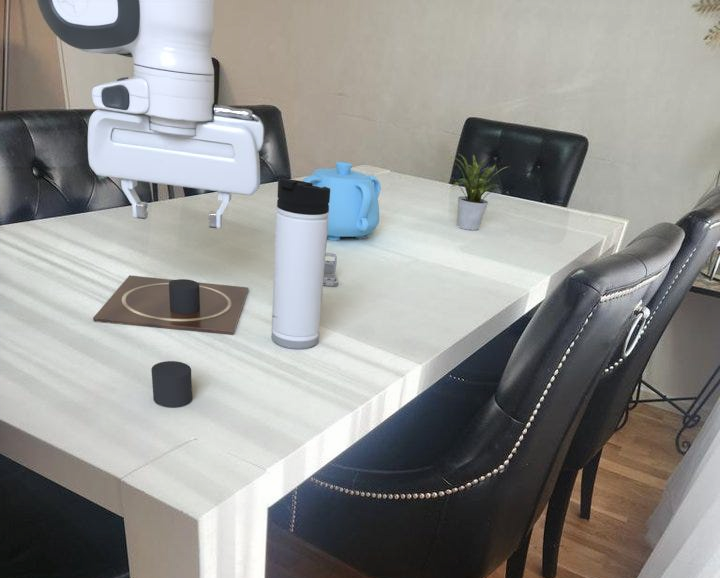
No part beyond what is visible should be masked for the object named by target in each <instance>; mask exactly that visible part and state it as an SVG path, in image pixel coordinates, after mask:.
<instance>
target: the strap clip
mask: <svg viewBox="0 0 720 578" xmlns="http://www.w3.org/2000/svg"><path fill="white" fill-rule="evenodd" d="M325 257H330V258H331V257H332V258H334V260H325V267H324V279H323V286H327V287H330V286H331V287H338V283H339V279H338V277H337V276H336V270H337V264H338V257H337V254H335V253H333V252H326V255H325Z"/></svg>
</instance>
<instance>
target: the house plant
mask: <svg viewBox="0 0 720 578" xmlns="http://www.w3.org/2000/svg"><path fill="white" fill-rule="evenodd" d="M456 154H457V155H459V156H460V157H462V159H463V161H464V163H463V162H462V161H461V160H460V159H459V158H457V157H453V156H451V159H455V160H457V161H458V162H459V163H460V165H461V166H462V168H463V169H464V172H465V174H466V177H467V178H466V177H465V174H464V172H463V170H462V168H461V166H460V165H459V164H457V163H455V162H450V163H451V164H455V165H456V166H457V167H458V168H459V170H460V172H461V174H462V176H463V178H458V179H457V180H458V181H456V182H454V183H453V184H452V185H451V187H455V186H458V187H459V188H460V189H461V191H462V193H463V195H461V196H458V197H457V214H456V215H457V216H456V218H457V219H456V227H457V226H459V227H461V228H464V229H463V230H465V229H471V230H470V231H478V230H479V229H480V226H481V223H482V221H483V218H484V215H485V212H486V210H487V208H488V204H489V201H488V200H487V199H485V198H486V197H487V196H488V195H489V194H492V193H493V192H497V191H498V192H501V190H500V189H494V190H491V191H489V192H487V191H488V190H490V189H492V188H495V187H500V185H499V184H488V185H487V183H489V182H490V180H491V179H492V178H493V177H494V176H496V175H497V174H498V173H500V171H502V170H503V169H506V168H510V167H511V166H505V167H503V168H501V169H499V170H498V171H496V172H495V173H494V174H493V175H492V176H491V177H490V178H488V177H489V176H490V175H491V174H492V172H493V171H494V169H495V167H496V165H497V163H495V164H494V165H493V166H492V167H489V168H487V169H485V171H483V172H482V174H481V176H480V173H481V168H482V166H483V163H484V162H485V160H486V159H487V155H485V157H484V158H483V159H482V160H481V162H480V163H479V164H478V163H477V159H476V156H475V154H472V165H471V164H469V163H468V160H467V159H466V157H465V156H463V155H462V154H460V153H456ZM450 179H452V180H454V181H455V179H454V178H452V177H450ZM487 179H488V180H487ZM459 181H460V182H459ZM461 185H463V186H464V187H465V188H464V189H465V191H466V194H465V192H464V190H463V188H462V186H461ZM486 192H487V194H485V193H486ZM484 194H485V195H484ZM483 195H484V196H483ZM482 196H483V198H482ZM459 227H458V228H459ZM461 228H460V229H461ZM477 229H478V230H477Z"/></svg>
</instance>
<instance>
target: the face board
mask: <svg viewBox="0 0 720 578" xmlns="http://www.w3.org/2000/svg"><path fill="white" fill-rule="evenodd" d="M173 280H174V279H169V278H158V277H150V276H140V275H131V274H129V275H128V276H127V278H126V279H125V280H124V281H123V282H122V283H121V285H120V286H119V287H118V288H117V290H115V292H114V293H113V294H112V295H111V296H110V298H108V300H107V301H106V302H105V303H104V304H103V305H102V307H100V309H99V310H98V311H97V313H95V315H94V316H93V317H92V320H93V322H96V321H101V322H100V323H106V322H110V323H109V324H117V323H123V324H122V325H127V324H130V325H129V326H139V327H147V328H148V327H150V328H160V329H170V330H180V331H191V332H202V333H213V334H220V335H221V334H224V335H232V336H233V335H234V334H235V332H236V328H237V326H238V323H239V319H240V317H241V313H242V311H243V308H244V305H245V301H246V299H247V295H248V293H249V289H250V288H249V287H248V286H237V285H229V284H228V285H227V284H218V283H209V282H199V281H197V282H198V283H199V290H200V310H199V311H198V312H197V313H193V314H180V313H176V312H173V311H172V310H171V309H170V297H169V282H170V281H173Z"/></svg>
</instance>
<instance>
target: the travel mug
mask: <svg viewBox="0 0 720 578" xmlns="http://www.w3.org/2000/svg"><path fill="white" fill-rule="evenodd" d="M312 185H313V184H312V183H308V182H303V180H299V179H298V180H296V179H291V178H278V179H277V201H276V212H275V216H276V217H275V236H274V238H275V239H274V259H273V260H274V261H273V263H274V265H273V284H272V285H273V287H272V288H273V289H272V312H271V313H272V314H271V339H272V341H273V342H274V343H275V344H276V345H278V346H280V347H283V348H286V349H292V350H307V349H311V348H312V347H315V346H316V345H317V344H318V343H319V339H320V337H319V336H320V328H321V327H320V326H321V315H322V303H323V292H324V291H323V289H324V285H323V279H324V267H325V261H326V256H325V255H326V253H327V242H328V241H327V240H328V239H327V237H328V235H327V231H328V216H329V205H328V204H329V201H330V188H327V187H317V186H312Z"/></svg>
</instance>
